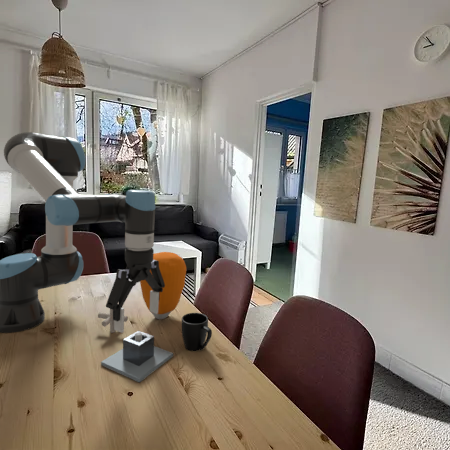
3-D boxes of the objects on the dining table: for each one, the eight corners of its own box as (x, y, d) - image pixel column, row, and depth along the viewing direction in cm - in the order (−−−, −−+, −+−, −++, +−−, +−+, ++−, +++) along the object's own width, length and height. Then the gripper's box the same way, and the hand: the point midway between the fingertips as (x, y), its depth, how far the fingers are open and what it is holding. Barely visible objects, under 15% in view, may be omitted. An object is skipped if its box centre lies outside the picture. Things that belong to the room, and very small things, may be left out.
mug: (196, 363, 87) (197, 332, 86) (176, 344, 97) (176, 316, 95) (219, 354, 93) (220, 324, 91) (197, 337, 102) (198, 310, 100)
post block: (101, 365, 84) (100, 338, 83) (137, 342, 97) (137, 318, 96) (139, 382, 78) (139, 353, 77) (173, 356, 90) (173, 330, 89)
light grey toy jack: (118, 340, 97) (118, 311, 96) (90, 336, 99) (90, 307, 98) (133, 326, 107) (133, 299, 106) (108, 322, 109) (107, 295, 107)
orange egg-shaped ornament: (170, 305, 127) (172, 246, 123) (193, 320, 114) (195, 255, 110) (130, 315, 116) (131, 250, 112) (150, 333, 103) (152, 261, 99)
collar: (122, 359, 86) (123, 339, 85) (138, 349, 91) (138, 330, 90) (139, 366, 83) (139, 345, 82) (153, 355, 88) (154, 336, 88)
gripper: (113, 259, 70) (112, 345, 73) (178, 242, 92) (175, 308, 95) (90, 253, 73) (90, 335, 77) (158, 238, 95) (156, 302, 99)
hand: (137, 321), depth 86 cm, fingers open, 13 cm apart
